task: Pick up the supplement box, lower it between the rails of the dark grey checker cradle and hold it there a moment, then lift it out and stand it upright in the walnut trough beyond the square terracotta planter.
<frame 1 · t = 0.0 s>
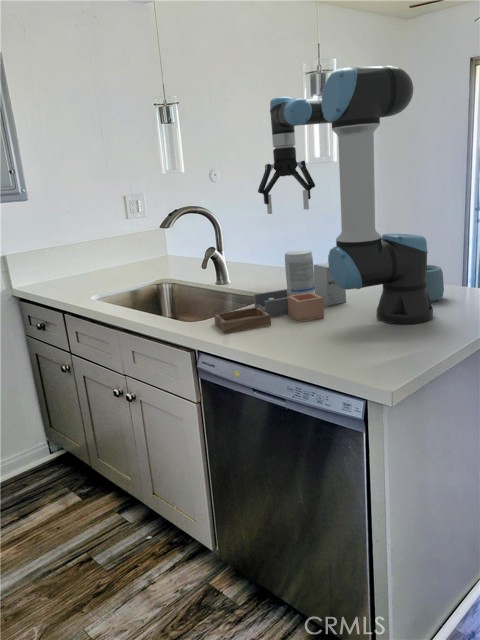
hand: (288, 211, 181), 28 cm above the worktop, tool pointing down, fingers open, 13 cm apart
supplement tub: (300, 293, 184), on the worktop
trough: (242, 324, 154), on the worktop
square terracotta planter: (306, 316, 156), on the worktop
supplement box: (330, 303, 169), on the worktop
cradle: (277, 310, 165), on the worktop
mug: (422, 298, 164), on the worktop
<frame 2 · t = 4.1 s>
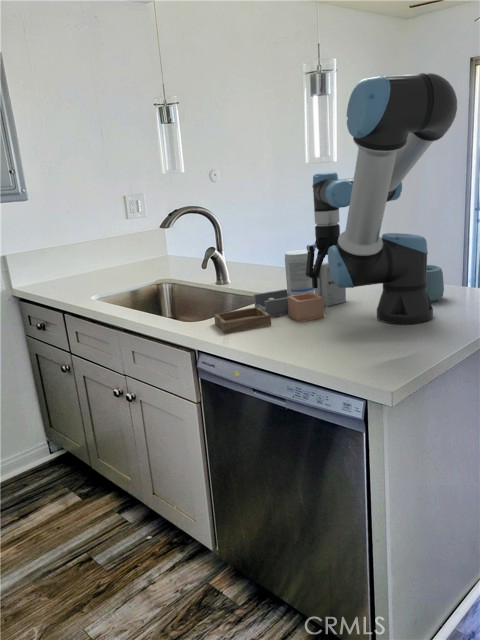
hand: (330, 295, 168), 2 cm above the worktop, tool pointing down, fingers closed on supplement box, 8 cm apart
supplement box: (330, 302, 169), on the worktop, touching gripper
everything else where it was.
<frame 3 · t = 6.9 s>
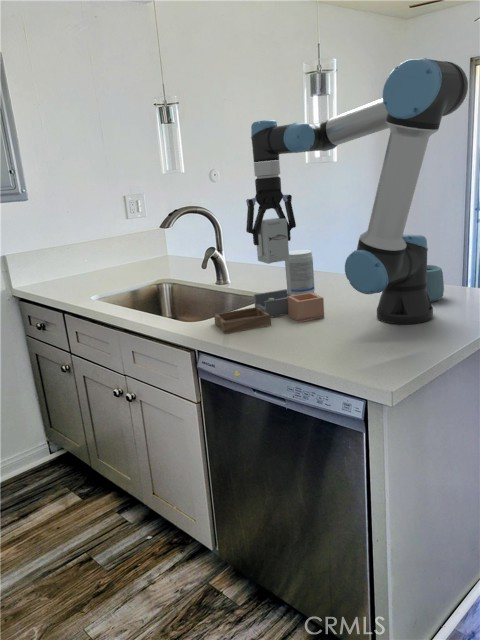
hand: (273, 253, 160), 18 cm above the worktop, tool pointing down, fingers closed on supplement box, 8 cm apart
supplement box: (273, 261, 161), point 16 cm above the worktop, touching gripper
everything else where it was.
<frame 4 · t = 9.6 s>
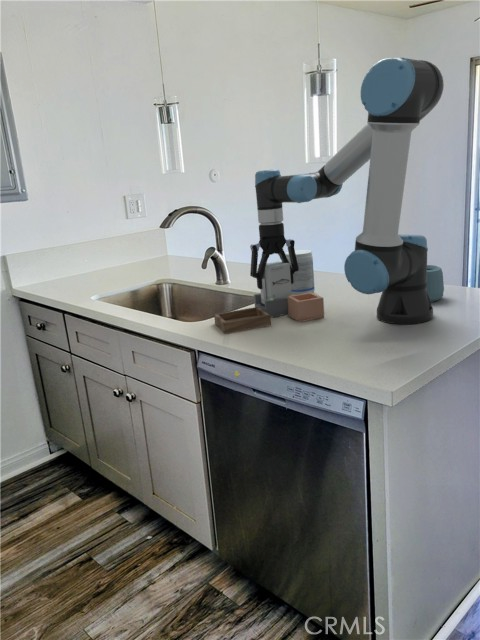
hand: (276, 296, 164), 5 cm above the worktop, tool pointing down, fingers closed on supplement box, 8 cm apart
supplement box: (276, 303, 165), point 2 cm above the worktop, touching gripper
everything else where it was.
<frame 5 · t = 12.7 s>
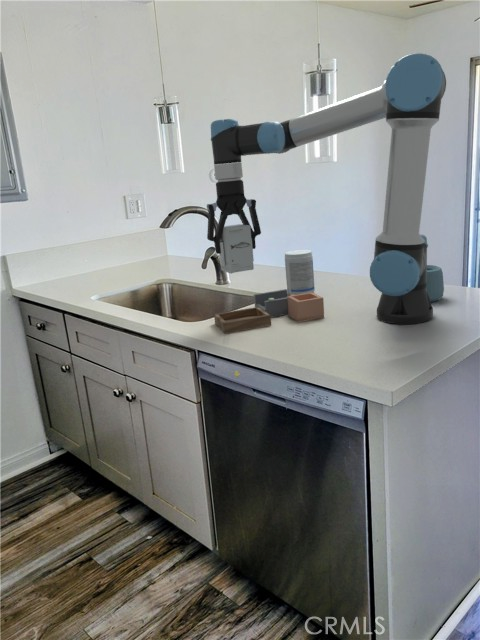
hand: (236, 262, 149), 18 cm above the worktop, tool pointing down, fingers closed on supplement box, 8 cm apart
supplement box: (237, 270, 150), point 16 cm above the worktop, touching gripper
everything else where it was.
when the fingers open (5 cm above the worktop, at t = 15.5 s): supplement box drops 2 cm, resting on trough.
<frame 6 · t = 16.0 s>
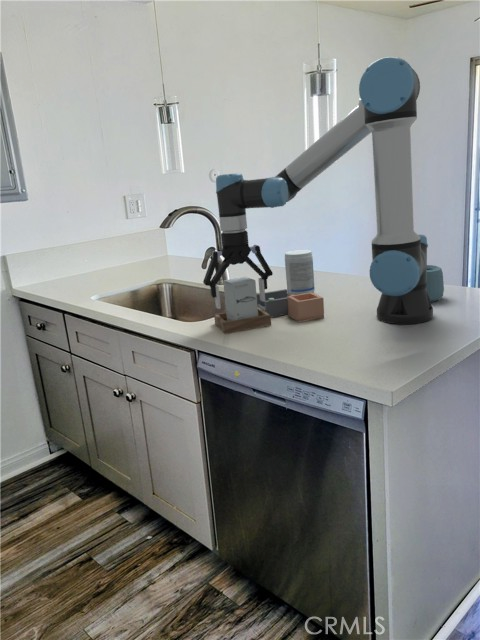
hand: (240, 304, 152), 6 cm above the worktop, tool pointing down, fingers open, 13 cm apart
supplement box: (242, 322, 154), point 1 cm above the worktop, touching trough
everything else where it was.
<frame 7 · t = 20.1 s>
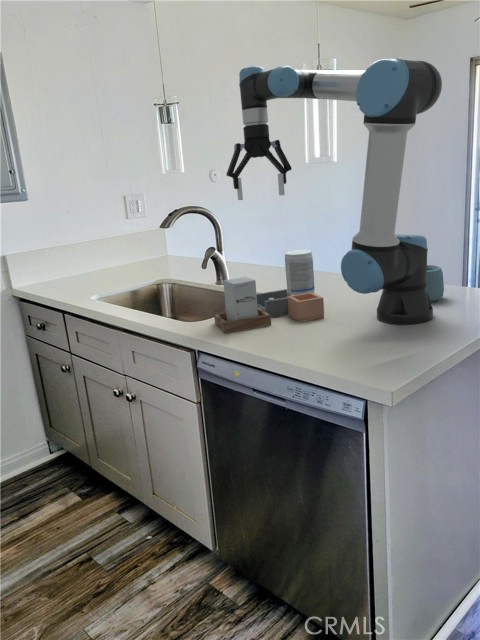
hand: (261, 197, 162), 35 cm above the worktop, tool pointing down, fingers open, 13 cm apart
nothing on the worktop moved.
at the end: supplement box inside the target area on the trough (0.2 cm from its centre), point 0.6 cm above the trough's base; supplement box tilted 0°; the gripper is holding nothing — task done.
